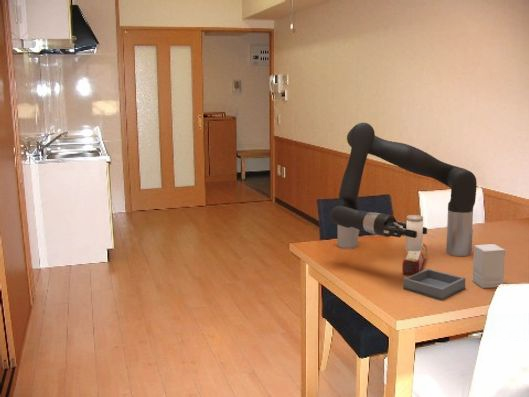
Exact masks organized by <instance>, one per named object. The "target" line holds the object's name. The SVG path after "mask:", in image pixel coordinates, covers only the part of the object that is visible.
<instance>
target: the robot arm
mask: <svg viewBox="0 0 529 397" xmlns="http://www.w3.org/2000/svg"><path fill="white" fill-rule="evenodd" d="M346 141H347V144H348V145H349V147H350V148H351V150H350V155H349V158H348V162H347V165H346V168H345V170H344V174H343V177H342V180H341V184H340V188H339V193H338V198H339V199H340V200H341V202H342V204H343V205H336V206H334V207H332V209H331V211H330V214H329V216H330V220H331V221H332V222H333V223H334V224H335V225H337V226H338V225H340V226H343V227H346V228H350V227H353V228H356V229H358V230H359V231H362V232H363V231H364V232H367V233H370V234H373V235H377V236H380V237H381V236H383V237H386V238H389V237H395V238H401V237H405V238H406V236H408V237H413V238H416V237H417V231H414V230H409V229H406V224H407V220H405V222H404V221H402V220H398V221H397V219H396V217H395V216H394V215H390V214H385V213H379V212H371V211H365V210H359V208H358V207H359V204H358V197H359V193H360V188H361V184H362V179H363V174H364V169H365V165H366V163H367V158H368V155H372V156H374V157H377V158H380V159H381V160H382V161H385V162H387V163H390V164H391V165H393V166H396V167H398V168H400V169H403V170H405V171H407V172H410V173H413V174H414V175H419V176H422V177H428V178H431V179H433V180H435V181H438V182H440V183H441V184H443V185H445V186H446V187H448V188H450V199H449V202H448V204H447V221H446V222H447V223H446V224H447V226H446V227H447V228H446V245H445V246H446V248H445V250H446V251H445V252H446V254H448V255H450V256H454V257H469V256H470V255H472V250H473V231H474V229H473V225H474V224H473V222H474V221H473V220H474V206H475V205H476V197H477V178H476V175H475V174H474V173H473V172H472V171H470V170H469V169H466V168H464V167H459V166H456V165H453V164H449V163H446V162H444V161H443V160H442V161H441V160H440V159H438V158H436V157H434V156H433V155H431V154H429V153H427V152H425V151H424V150H422V149H419V147H418V148H417V147H415V146H412V145H410V144H407V143H403V142H397V141H391V140H387V139H383V138H382V137H379V136H377V135H376V134H375V129H374V128H373V126H372V125H371V124H369V123H367V122H359V123H357V124H355V125H354V126H353V127H352V128H351V129H350V130H349V131H348V132H347V135H346ZM427 234H428V228H427V227H425V226H423V235H427Z"/></svg>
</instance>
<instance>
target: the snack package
mask: <svg viewBox="0 0 529 397" xmlns="http://www.w3.org/2000/svg"><path fill="white" fill-rule="evenodd" d="M427 253H428V247H427V245H426V243H424V242H422V250H421V251H409V250H406V253H405V256H404V259H403V260H402V264H401V266H402V268H401V269H402V273H403V275H404V276H411V275H413V274H416V273H418V272H420V271H422V270H421V268H422V266H423V263H424V261H425V258H426V256H427Z"/></svg>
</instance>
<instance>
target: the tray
mask: <svg viewBox="0 0 529 397" xmlns="http://www.w3.org/2000/svg"><path fill="white" fill-rule="evenodd" d="M402 281H403V285H402V288H403V290H405V291H410V292H411V293H417V294H420V295H423V296H427V297H429V298H432V299H436V300H438V301H439V300H440V301H443V300H445V299H447V298H449V297H451V296H453V295H455V294H457V293H459V292H462V291H463V290H465V289H466V277H462V276H458V275H454V274H450V273H446V272H443V271H438V270H435V269H431V268H425V269H423V270H420V272H418V273H416V274H413V275H408V276H407V277H404V278H403V280H402Z"/></svg>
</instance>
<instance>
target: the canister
mask: <svg viewBox="0 0 529 397" xmlns="http://www.w3.org/2000/svg"><path fill="white" fill-rule="evenodd" d="M406 221H407V224H406V229H409V230H414V231H417V237H416V238H413V237H408V236H405V250H406V251H408V250H409V251H421V250H422V243H423V235H424V234H423V227H424V217H423V216H422V215H418V214H409V215H407V216H406Z"/></svg>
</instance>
